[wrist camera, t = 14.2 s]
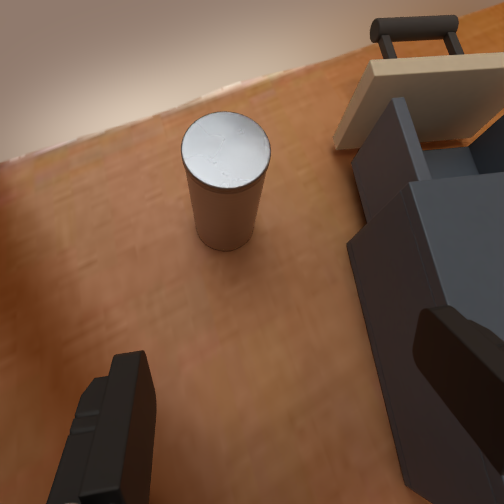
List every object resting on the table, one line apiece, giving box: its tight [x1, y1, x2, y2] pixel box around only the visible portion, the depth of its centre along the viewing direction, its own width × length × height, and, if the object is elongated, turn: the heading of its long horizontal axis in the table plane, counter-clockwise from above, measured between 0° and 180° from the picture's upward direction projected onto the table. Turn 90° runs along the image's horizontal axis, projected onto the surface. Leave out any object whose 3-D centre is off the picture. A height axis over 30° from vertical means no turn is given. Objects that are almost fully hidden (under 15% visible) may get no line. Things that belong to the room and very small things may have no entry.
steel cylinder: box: [181, 112, 271, 251], centre depth 22 cm, size 4×4×10 cm
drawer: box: [333, 15, 504, 223], centre depth 24 cm, size 20×12×8 cm, turn 9°
